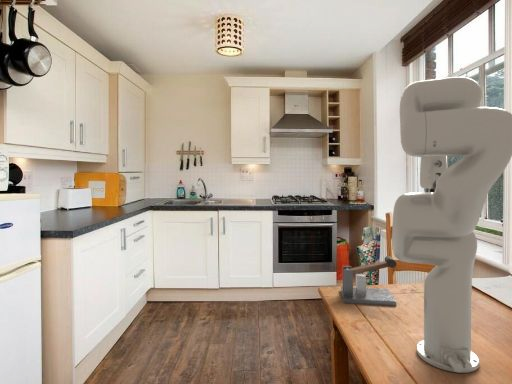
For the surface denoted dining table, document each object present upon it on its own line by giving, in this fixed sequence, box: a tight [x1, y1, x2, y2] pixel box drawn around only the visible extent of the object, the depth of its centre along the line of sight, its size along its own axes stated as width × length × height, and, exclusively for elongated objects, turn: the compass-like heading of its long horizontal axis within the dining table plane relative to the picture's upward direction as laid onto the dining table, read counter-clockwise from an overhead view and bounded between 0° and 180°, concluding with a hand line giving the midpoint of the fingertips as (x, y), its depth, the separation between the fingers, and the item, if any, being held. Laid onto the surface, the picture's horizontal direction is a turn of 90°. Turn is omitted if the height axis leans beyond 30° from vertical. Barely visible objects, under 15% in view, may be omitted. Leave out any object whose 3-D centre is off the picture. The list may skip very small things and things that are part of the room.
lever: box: [347, 255, 397, 275], centre depth 111 cm, size 6×17×3 cm, turn 79°
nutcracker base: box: [340, 265, 397, 307], centre depth 112 cm, size 12×17×10 cm
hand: (431, 211), depth 97 cm, fingers closed
